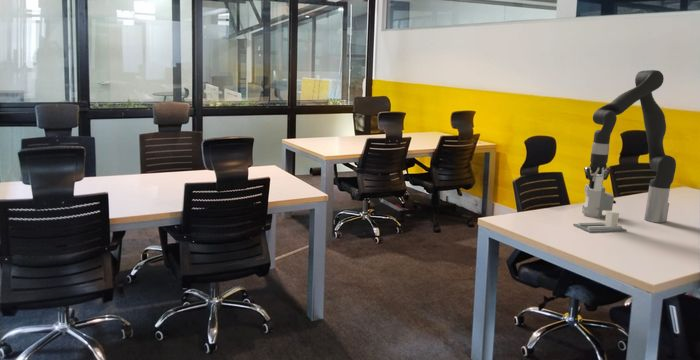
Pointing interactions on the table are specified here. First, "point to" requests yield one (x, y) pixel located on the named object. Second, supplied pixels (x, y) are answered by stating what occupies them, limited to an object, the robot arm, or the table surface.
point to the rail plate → (603, 224)
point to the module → (597, 183)
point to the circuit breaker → (597, 202)
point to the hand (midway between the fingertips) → (595, 188)
